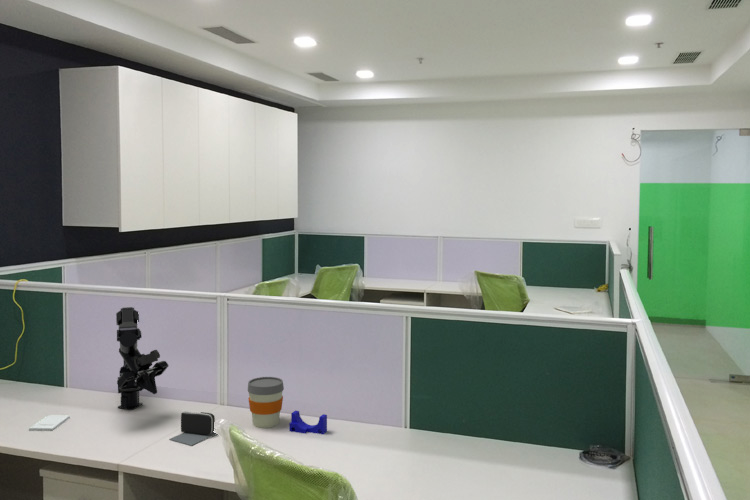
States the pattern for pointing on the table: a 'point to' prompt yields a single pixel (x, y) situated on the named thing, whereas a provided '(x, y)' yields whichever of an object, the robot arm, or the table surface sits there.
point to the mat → (191, 438)
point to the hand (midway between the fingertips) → (155, 393)
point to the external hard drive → (49, 423)
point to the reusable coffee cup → (265, 400)
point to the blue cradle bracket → (302, 427)
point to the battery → (197, 423)
